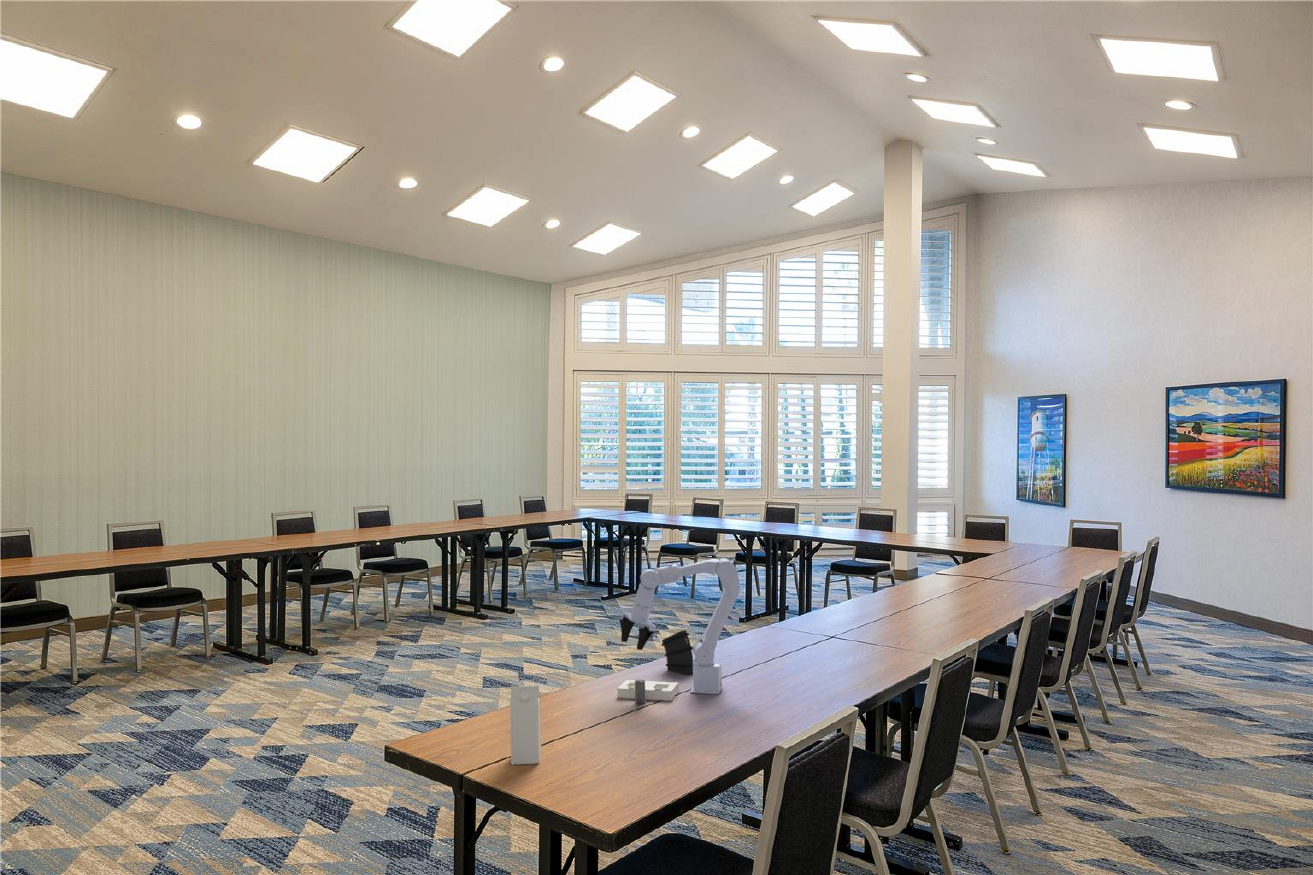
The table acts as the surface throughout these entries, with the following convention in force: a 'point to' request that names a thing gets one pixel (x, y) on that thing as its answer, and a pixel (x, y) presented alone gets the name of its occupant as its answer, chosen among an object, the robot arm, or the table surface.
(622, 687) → the socket box
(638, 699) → the plug
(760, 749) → the table surface
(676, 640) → the magazine
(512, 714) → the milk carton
